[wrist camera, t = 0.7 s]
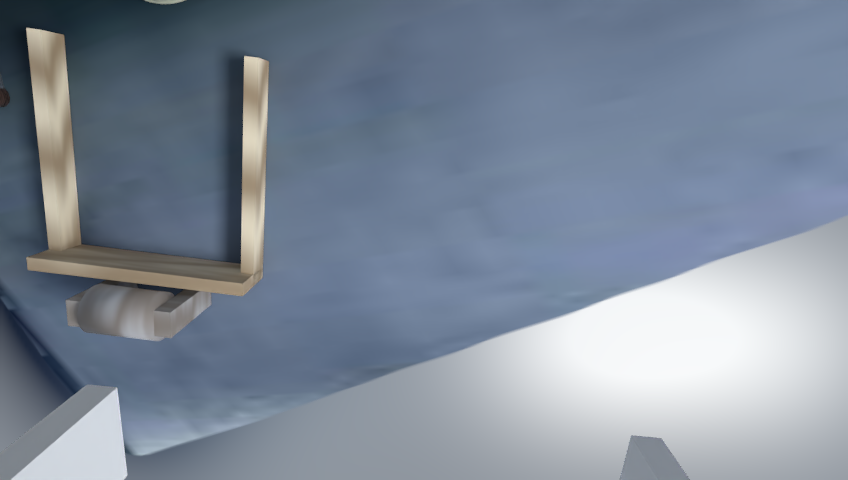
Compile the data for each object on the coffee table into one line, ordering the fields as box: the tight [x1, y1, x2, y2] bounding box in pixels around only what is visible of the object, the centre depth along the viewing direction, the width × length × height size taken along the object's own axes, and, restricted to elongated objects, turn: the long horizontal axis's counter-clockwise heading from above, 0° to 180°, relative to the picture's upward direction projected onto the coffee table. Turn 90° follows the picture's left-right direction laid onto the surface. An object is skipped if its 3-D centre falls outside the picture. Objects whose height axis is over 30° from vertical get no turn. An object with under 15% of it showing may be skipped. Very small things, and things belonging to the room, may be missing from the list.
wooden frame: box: [26, 28, 269, 341], centre depth 32 cm, size 21×16×7 cm
